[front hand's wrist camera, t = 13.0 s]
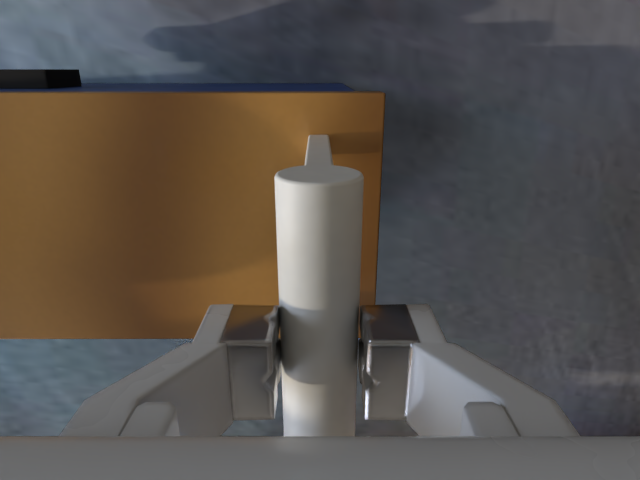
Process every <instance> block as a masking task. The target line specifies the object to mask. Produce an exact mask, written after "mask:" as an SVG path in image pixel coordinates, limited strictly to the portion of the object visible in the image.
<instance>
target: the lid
mask: <svg viewBox="0 0 640 480" xmlns="http://www.w3.org/2000/svg"><path fill="white" fill-rule="evenodd" d="M384 115H385V93H383V92H380V91H92V92H0V339H194V337H195V335H196V333H197V331H198V329H199V327H200V325H201V323H202V320H203V318H204V316H205V314H206V312H207V310H208V308H209V306H210V305H213V304H234V305H235V304H241V305H279V309H280V329H279V336H278V338H280V340H281V370H282V397H283V424H284V436H355V417H356V388H357V359H358V338H361V333H360V326H359V315H360V306H361V305H375V299H376V279H377V258H378V238H379V217H380V197H381V176H382V156H383V135H384Z"/></svg>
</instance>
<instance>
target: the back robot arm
mask: <svg viewBox="0 0 640 480" xmlns="http://www.w3.org/2000/svg"><path fill="white" fill-rule="evenodd" d="M67 87H82V86H81V80H80V75H79V70H0V89H53V88H67Z"/></svg>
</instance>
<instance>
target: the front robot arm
mask: <svg viewBox="0 0 640 480" xmlns="http://www.w3.org/2000/svg"><path fill="white" fill-rule="evenodd" d="M359 326H360V333H361V338H360V339H359V343H358V367H359V378H360V383H361V384H362V401H363V409H364V416H365V419H370V420H407V421H406V422H407V423H408V425H409V426H410V427H411V428H412V429H413V430H414V431H415V432H416V433H417V434H418V435H419V436H221V435H222V434H223V433H224V432H225V431H226V430H227V429H228V427H229V426H230V425H231V424H232V423H233V420H268V419H275V412H276V405H277V398H278V392H277V384H279V383H280V374H281V340H280V339H279V338H278V336H279V329H280V309H279V305H241V304H235V305H234V304H213V305H210V306H209V308H208V310H207V312H206V314H205V316H204V318H203V320H202V323H201V325H200V327H199V329H198V331H197V333H196V335H195V337H194V339H193V341H192V343H184V344H182V345H181V346H179V347H177V348H175V349H174V350H172V351H170V352H168V353H167V354H165V355H163V356H161V357H160V358H158V359H156V360H154V361H152V362H151V363H149V364H147V365H145V366H144V367H142V368H140V369H138V370H137V371H135V372H133V373H131V374H130V375H128V376H126V377H124V378H123V379H121V380H119V381H117V382H115V383H114V384H112V385H110V386H108V387H107V388H105V389H103V390H101V391H100V392H98V393H96V394H94V395H93V396H91V397H89V398H87V399H85V400H84V402H83V403H82V404H81V406H80V407H79V409H78V410H77V411H76V413H75V414H74V416H73V417H72V418H71V420H70V421H69V422H68V424H67V425H66V427H65V428H64V429H63V431H62V432H61V434H60V435H59V436H0V480H640V436H580V435H579V433H578V432H577V430H576V429H575V428H574V426H573V425H572V423H571V422H570V421H569V419H568V418H567V416H566V415H565V413H564V412H563V411H562V409H561V408H560V406H559V405H558V404H557V402H556V401H555V400H553V399H552V398H550V397H548V396H546V395H545V394H543V393H541V392H539V391H538V390H536V389H534V388H532V387H531V386H529V385H527V384H525V383H524V382H522V381H520V380H518V379H517V378H515V377H513V376H511V375H510V374H508V373H506V372H504V371H503V370H501V369H499V368H497V367H496V366H494V365H492V364H490V363H489V362H487V361H485V360H483V359H482V358H480V357H478V356H476V355H474V354H473V353H471V352H469V351H467V350H466V349H464V348H462V347H460V346H459V345H457V344H455V343H447V341H446V338H445V336H444V334H443V332H442V330H441V328H440V326H439V324H438V322H437V320H436V318H435V316H434V314H433V311H432V309H431V307H430V305H428V304H411V305H406V304H395V305H361V306H360V315H359Z"/></svg>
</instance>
